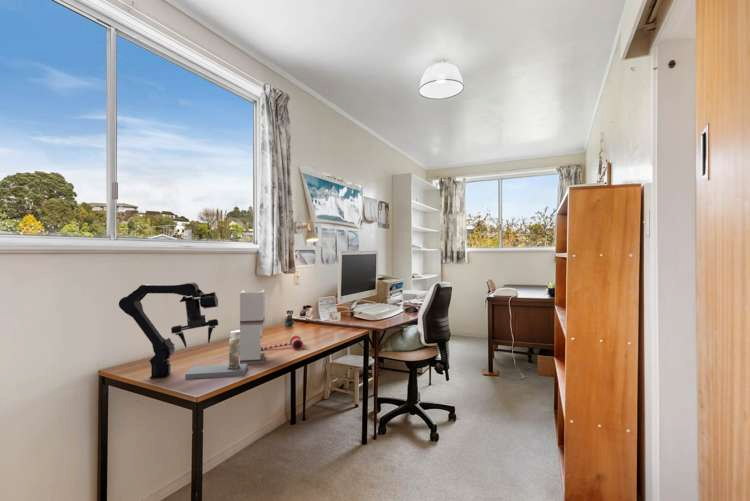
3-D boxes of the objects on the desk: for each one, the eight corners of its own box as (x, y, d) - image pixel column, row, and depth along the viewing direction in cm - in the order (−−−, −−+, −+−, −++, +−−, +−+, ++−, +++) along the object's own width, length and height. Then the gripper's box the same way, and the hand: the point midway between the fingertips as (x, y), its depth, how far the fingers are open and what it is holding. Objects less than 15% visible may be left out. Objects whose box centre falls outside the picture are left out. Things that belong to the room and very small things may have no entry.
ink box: (244, 349, 207) (244, 328, 207) (249, 351, 204) (249, 329, 204) (230, 352, 201) (230, 331, 201) (234, 354, 197) (234, 332, 197)
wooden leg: (228, 373, 166) (228, 340, 166) (229, 370, 170) (230, 338, 170) (238, 373, 167) (238, 340, 167) (239, 370, 171) (239, 337, 171)
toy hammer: (260, 353, 200) (260, 342, 200) (260, 348, 211) (260, 337, 211) (303, 350, 207) (303, 338, 207) (300, 345, 218) (300, 334, 218)
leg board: (185, 379, 159) (185, 374, 159) (192, 370, 170) (192, 366, 170) (243, 375, 164) (243, 370, 164) (247, 367, 175) (247, 363, 175)
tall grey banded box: (262, 363, 182) (262, 292, 182) (239, 364, 180) (240, 292, 180) (264, 356, 193) (264, 289, 193) (243, 358, 191) (243, 290, 191)
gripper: (168, 315, 155) (173, 352, 154) (216, 307, 163) (221, 342, 162) (170, 314, 165) (174, 349, 164) (215, 306, 173) (219, 340, 172)
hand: (197, 345), depth 165 cm, fingers open, 9 cm apart
